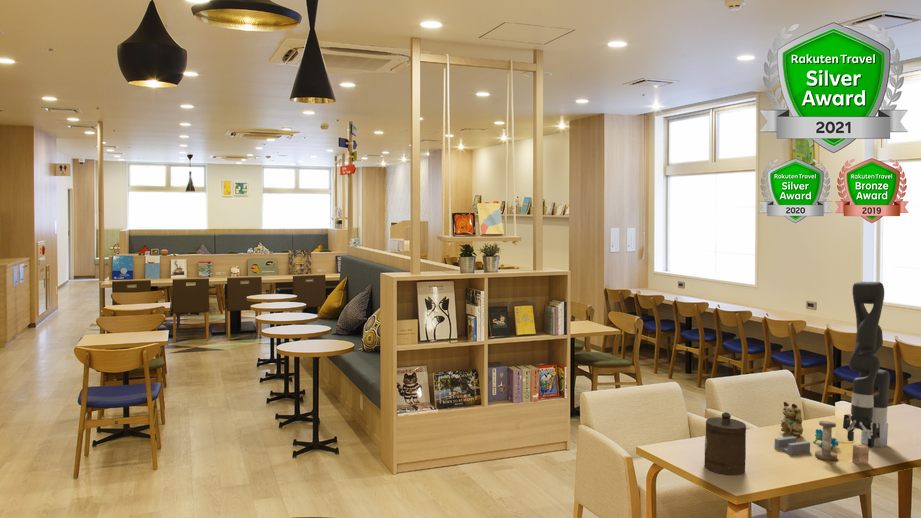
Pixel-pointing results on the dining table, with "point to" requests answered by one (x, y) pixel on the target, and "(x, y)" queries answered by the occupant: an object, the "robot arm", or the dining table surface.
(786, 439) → the grooved channel block
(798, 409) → the decorative figurine
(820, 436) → the gear
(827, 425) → the bobbin
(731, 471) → the wooden container
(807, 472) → the dining table surface
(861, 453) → the copper tab
